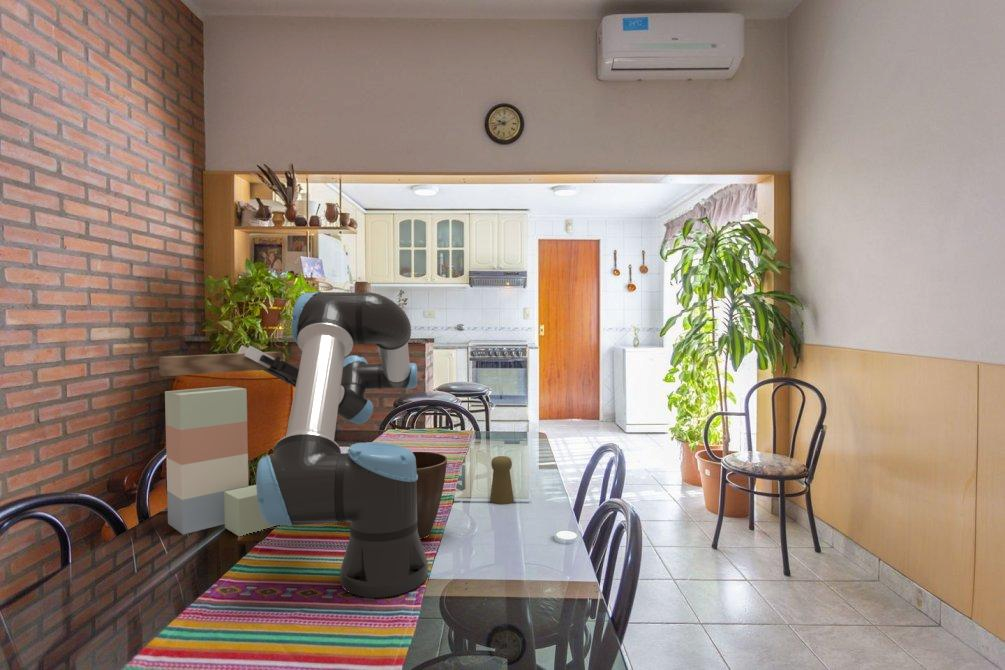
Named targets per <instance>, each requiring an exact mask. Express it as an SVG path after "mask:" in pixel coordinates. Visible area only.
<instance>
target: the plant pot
mask: <svg viewBox="0 0 1005 670" xmlns="http://www.w3.org/2000/svg"><path fill="white" fill-rule="evenodd" d="M411 452H412V453H413V454H414V456H415V458H416V470H417V475H418V480H417V481H416V484H417V530H418V534H419V537H420V538H424V537H426V536H428V535H429V536H430V535H431V533H432V531H433V527H434V525H435V522H436V518H437V514H438V512H439V508H440V506H441V505H440V504H441V500H442V495H443V491H444V486H445V480H446V473H447V465H448V457H447V456H446V455H444V454H441V453H437V452H432V451H431V452H430V451H411ZM429 536H428V537H429ZM426 538H427V537H426ZM424 539H425V538H424Z"/></svg>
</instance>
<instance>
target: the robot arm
mask: <svg viewBox="0 0 1005 670" xmlns="http://www.w3.org/2000/svg"><path fill="white" fill-rule="evenodd" d="M291 318H292V319H291V323H290V324H291V328H290V330H291V335H292V339H293V342H295V343H296V344H297V347H298V348H299V349H300V351H301V357H300V363H299V368H297V367H296V366H293V365H291V364H290V363H287V362H285V360H283V361H279V360H280V357H278V356H277V357H276V359H275V358H273V357H271V356H269V355H267V354H266V353H264V352H263V351H262V350H260V349H258V348H256V347H254V346H252V345H249V346H248V347H247V346H245V345H240V348H238V351H237V353H245V355H244V356H245V357H247V358H249V359H251V360H253V361H255V362H257V363H259V364H261V365H263V366H265V367H267V368H270V366H272V367H271V369H265V370H263V371H264V372H266V373H267V374H269V375H271V376H274V377H276V378H277V379H280V380H282V381H283V382H285V383H286V384H288V385H291V386H292V387H294V393H293V397H292V404H291V409H290V413H289V414H290V415H289V418H288V423H287V427H286V434H285V436H283V437H281V438H280V439H279V440H278V441H277V442H276V443H275V444H274V448H273V453H272V455H268V454H267V455H266V456H262V457H261V458H260V459H259V460H258V462H257V468H256V479H255V483H256V484H255V485H256V488H257V499H258V505H259V510H260V513H261V516H262V518H263V519H264V521H265V522H266V523H268V524H270V525H280V526H289V527H293V526H304V525H321V524H335V523H337V524H338V523H349V540H348V543H347V546H346V549H345V553H344V556H343V559H342V563H341V565H340V570H339V578H340V579H339V581H340V582H341V584H340V586H341V585H342V586H343V587H344V588H345V589H346V590H347V591H349V592H350V593H353V594H355V595H354V596H356V595H358V596H357V597H361V596H362V598H371V599H372V598H373V599H374V598H375V599H376V598H378V599H379V598H388V597H394V596H399V595H402V594H405V593H408V592H411V591H413V590H416V589H417V588H419V587H420V586H422V585H423V584H424V582H426V580H428V576H429V562H428V558H427V555H426V552H425V548H424V546H423V543H422V539H421V540H420V537H419V534H418V530H417V484H416V481H417V480H418V475H417V470H416V458H415V456H414V454H413V453H412V452H413V451H412V450H410V449H409V448H407V447H405V446H402V445H398V444H394V443H388V442H387V443H386V442H374V441H370V442H369V441H367V442H356V443H353V444H351V445H350V446H349V448H348V450H347V452H345V453H342V450H341V447H340V445H339V444H338V442H336V441H335V437H336V436H335V434H336V427H337V420H338V419H337V418H338V417H340V418H342V419H344V420H345V421H347V422H351V423H352V424H356V425H363V424H365V423H366V422H367V421H368V420H369V419H370V418H371V416H372V414H373V413H374V404H373V403H372V401H371V400H369V398H366V391H369V390H372V391H373V390H375V391H376V390H409V389H415V388H417V387H418V365H417V363H415V362H410V351H409V341H410V338H411V337H412V325H411V324H412V323H411V321H410V319H409V317H408V315H407V313H406V312H405V311H404V310H403V308H402V307H400V305H399V304H397V303H396V302H395V301H393V300H392V299H390V298H388V297H387V296H384V295H382V294H380V293H377V292H375V293H374V292H369V291H367V292H366V291H364V292H345V291H344V292H342V291H338V292H336V291H335V292H332V291H329V292H328V291H325V292H324V291H316V292H305V293H303V294H301V295H300V296H299V297H298V298H297V299H296V301H295V303H294V306H293V309H292V314H291ZM356 344H357V345H361V344H363V345H364V344H372V345H373V344H375V345H376V347H377V349H378V354H379V358H380V362H381V363H368V361H367V359H365V357H363V356H359V355H350V353H351V352H352V350H353V347H354V345H356ZM348 355H349V356H348ZM274 359H275V360H274ZM340 582H339V583H340ZM350 593H349V594H350ZM353 594H352V595H353Z"/></svg>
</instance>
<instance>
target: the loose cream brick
mask: <svg viewBox="0 0 1005 670" xmlns="http://www.w3.org/2000/svg"><path fill="white" fill-rule="evenodd" d="M224 511H225V524H224V528H225V529H227V530H228V531H229V532H230V533H231V532H232V533H233V534H234V535H235V536H238V537H240V536H241V537H243V535H244V536H247V535H246V534H248V535H250V534H249V533H252V534H254V533H253V532H255V533H258V532H257V531H259V532H262V531H264V530H263V529H266V528H270V527H273V526H276V525H270V524H268V523H266V522H265V521H264V519H263V518H262V516H261V513H260V510H259V505H258V499H257V488H256V484H253V485H248V487H244V488H239V489H234V490H230V491H225V492H224ZM273 528H274V527H273ZM270 529H271V528H270ZM261 530H262V531H261ZM266 530H267V529H266Z"/></svg>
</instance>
